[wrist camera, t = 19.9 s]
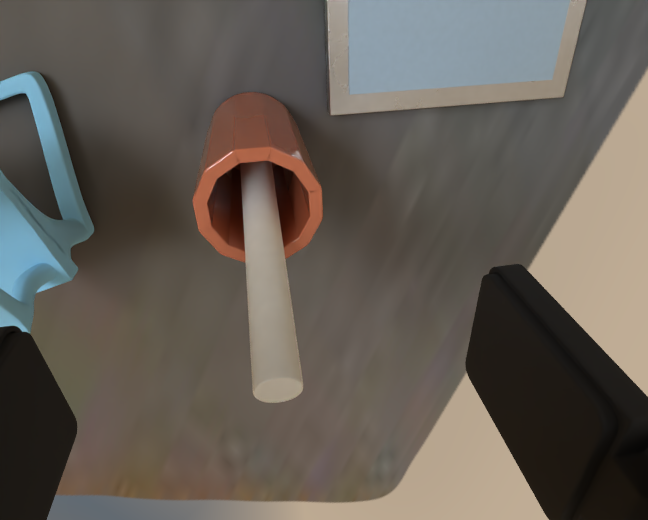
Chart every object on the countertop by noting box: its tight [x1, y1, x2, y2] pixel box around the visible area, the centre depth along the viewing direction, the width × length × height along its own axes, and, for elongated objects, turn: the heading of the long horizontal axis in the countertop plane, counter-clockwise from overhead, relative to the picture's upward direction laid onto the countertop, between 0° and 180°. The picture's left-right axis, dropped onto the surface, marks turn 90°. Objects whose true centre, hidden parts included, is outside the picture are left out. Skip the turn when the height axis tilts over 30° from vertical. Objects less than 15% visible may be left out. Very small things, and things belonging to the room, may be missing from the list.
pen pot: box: [193, 92, 323, 263], centre depth 20 cm, size 5×5×9 cm
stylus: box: [240, 161, 303, 403], centre depth 17 cm, size 1×1×15 cm
